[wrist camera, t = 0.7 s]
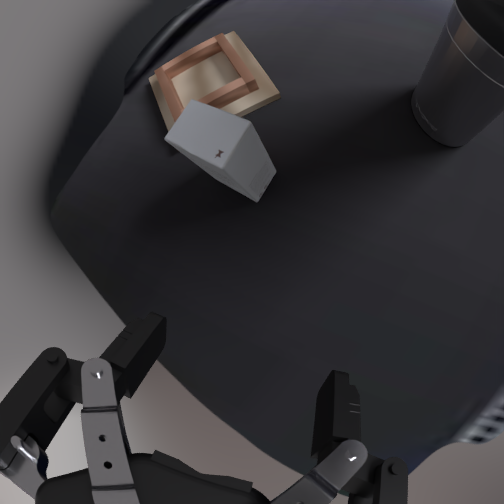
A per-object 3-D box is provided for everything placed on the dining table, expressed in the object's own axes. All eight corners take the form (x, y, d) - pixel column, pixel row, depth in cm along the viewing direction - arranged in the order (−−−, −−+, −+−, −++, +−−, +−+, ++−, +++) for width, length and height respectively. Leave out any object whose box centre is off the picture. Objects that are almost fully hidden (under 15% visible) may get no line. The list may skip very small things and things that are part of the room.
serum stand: (236, 36, 32) (229, 21, 29) (280, 97, 30) (276, 82, 27) (152, 82, 35) (140, 71, 31) (179, 151, 33) (166, 142, 30)
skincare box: (278, 170, 30) (254, 121, 19) (258, 203, 31) (222, 171, 19) (233, 147, 31) (190, 96, 20) (213, 178, 32) (161, 140, 20)
